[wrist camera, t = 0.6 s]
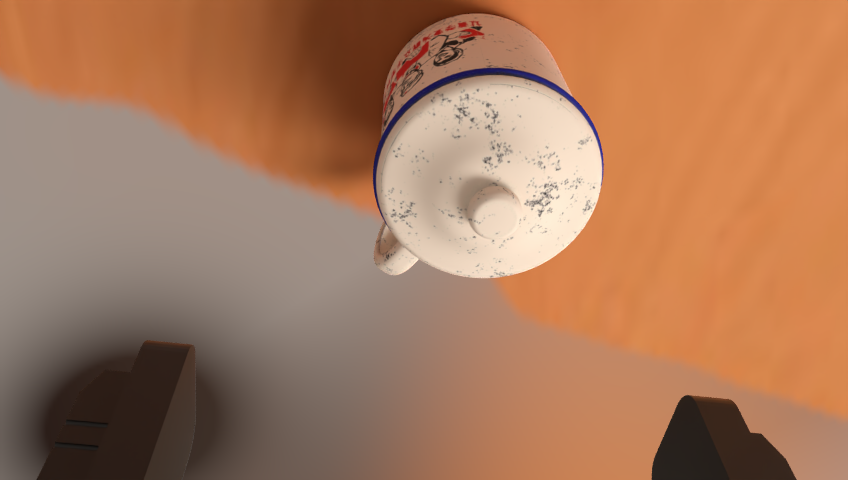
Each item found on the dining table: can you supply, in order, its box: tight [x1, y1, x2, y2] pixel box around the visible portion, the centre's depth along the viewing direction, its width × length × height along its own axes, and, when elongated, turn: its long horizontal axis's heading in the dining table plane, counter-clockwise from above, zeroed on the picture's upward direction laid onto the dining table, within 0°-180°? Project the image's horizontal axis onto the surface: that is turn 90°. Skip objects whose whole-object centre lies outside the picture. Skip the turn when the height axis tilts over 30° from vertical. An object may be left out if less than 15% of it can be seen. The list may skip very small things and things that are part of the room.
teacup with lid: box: [373, 14, 603, 278], centre depth 34 cm, size 12×9×12 cm
